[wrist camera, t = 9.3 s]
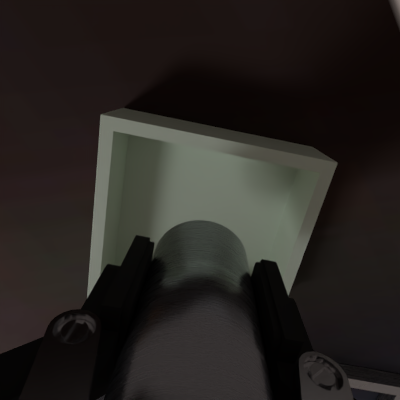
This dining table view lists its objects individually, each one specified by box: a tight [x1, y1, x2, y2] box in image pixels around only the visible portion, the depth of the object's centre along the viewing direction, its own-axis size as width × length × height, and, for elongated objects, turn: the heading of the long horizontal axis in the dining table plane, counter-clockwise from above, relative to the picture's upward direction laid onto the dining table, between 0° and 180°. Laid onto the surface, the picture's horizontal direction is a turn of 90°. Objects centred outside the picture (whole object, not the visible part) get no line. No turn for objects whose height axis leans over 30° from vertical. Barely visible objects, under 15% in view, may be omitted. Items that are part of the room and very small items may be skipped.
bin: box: [87, 108, 338, 298], centre depth 17 cm, size 11×11×4 cm
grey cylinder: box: [104, 220, 274, 400], centre depth 9 cm, size 4×4×9 cm
